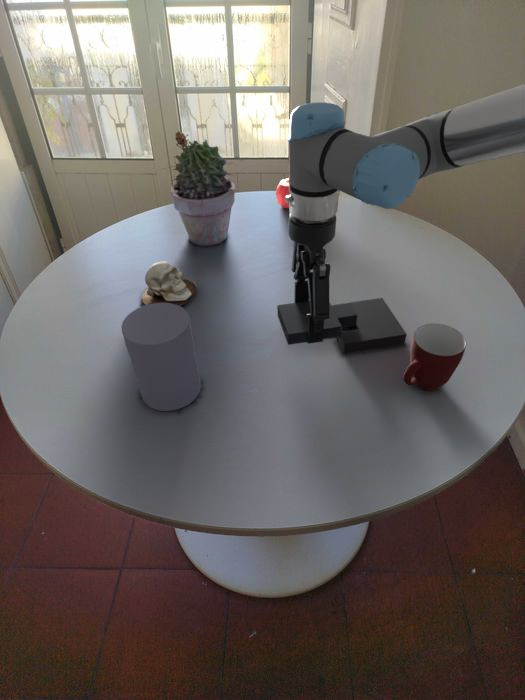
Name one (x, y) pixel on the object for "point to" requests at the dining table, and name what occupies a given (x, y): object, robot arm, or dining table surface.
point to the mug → (434, 356)
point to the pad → (297, 320)
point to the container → (162, 355)
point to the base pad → (372, 328)
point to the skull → (167, 285)
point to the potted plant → (202, 192)
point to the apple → (283, 193)
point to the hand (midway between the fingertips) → (307, 324)
